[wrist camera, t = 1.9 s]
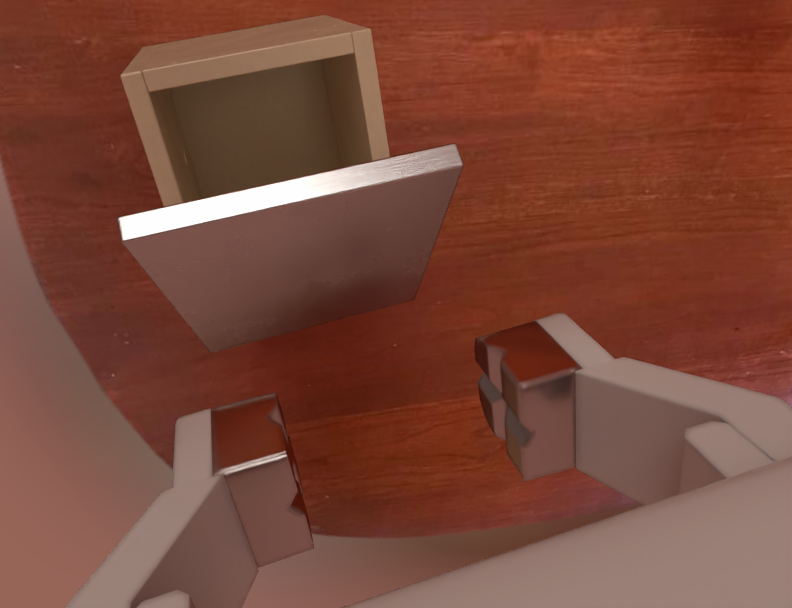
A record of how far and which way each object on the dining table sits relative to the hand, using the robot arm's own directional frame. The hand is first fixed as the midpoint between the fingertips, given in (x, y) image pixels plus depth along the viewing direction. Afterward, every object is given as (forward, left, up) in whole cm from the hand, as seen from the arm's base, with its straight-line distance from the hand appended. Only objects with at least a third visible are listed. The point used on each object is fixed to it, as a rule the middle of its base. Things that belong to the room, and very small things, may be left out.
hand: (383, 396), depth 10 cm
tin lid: (+2, -3, -14) cm, 14 cm away
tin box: (+1, -2, -29) cm, 29 cm away
